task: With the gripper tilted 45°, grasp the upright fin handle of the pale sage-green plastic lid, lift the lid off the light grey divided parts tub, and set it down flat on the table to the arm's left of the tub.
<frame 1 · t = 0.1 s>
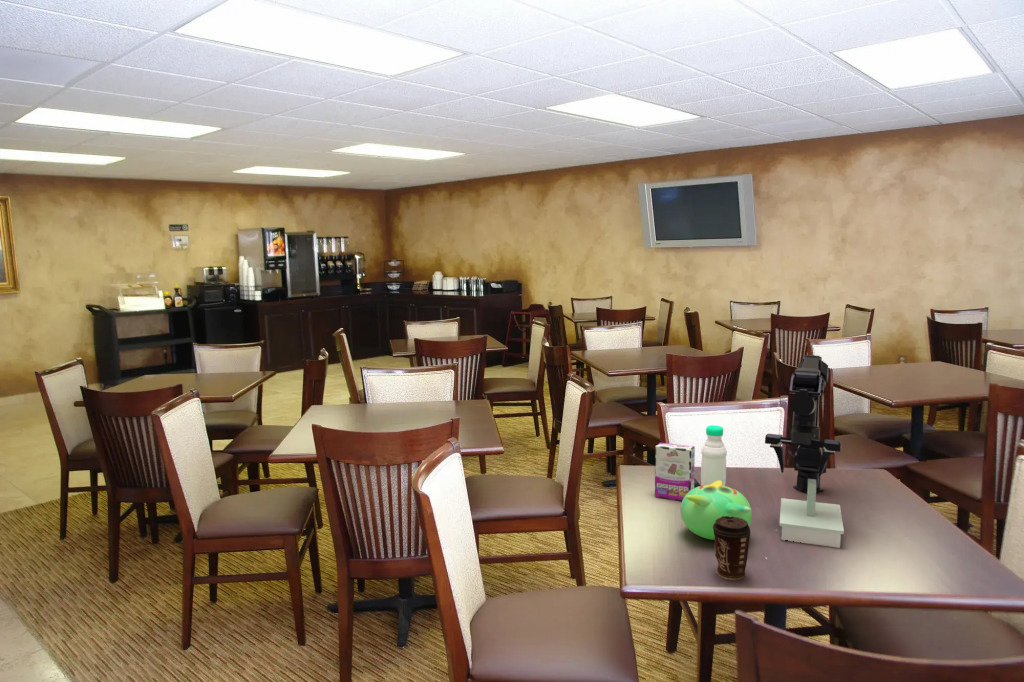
hand: (800, 474, 190), 15 cm above the table, tool pointing down, fingers open, 9 cm apart
candy bar box: (674, 498, 217), on the table
remote control: (683, 479, 235), on the table
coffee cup: (730, 574, 167), on the table
lid: (810, 516, 190), point 4 cm above the table, touching tub
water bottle: (712, 510, 207), on the table
tub: (809, 530, 191), on the table
toy bird: (715, 538, 187), on the table
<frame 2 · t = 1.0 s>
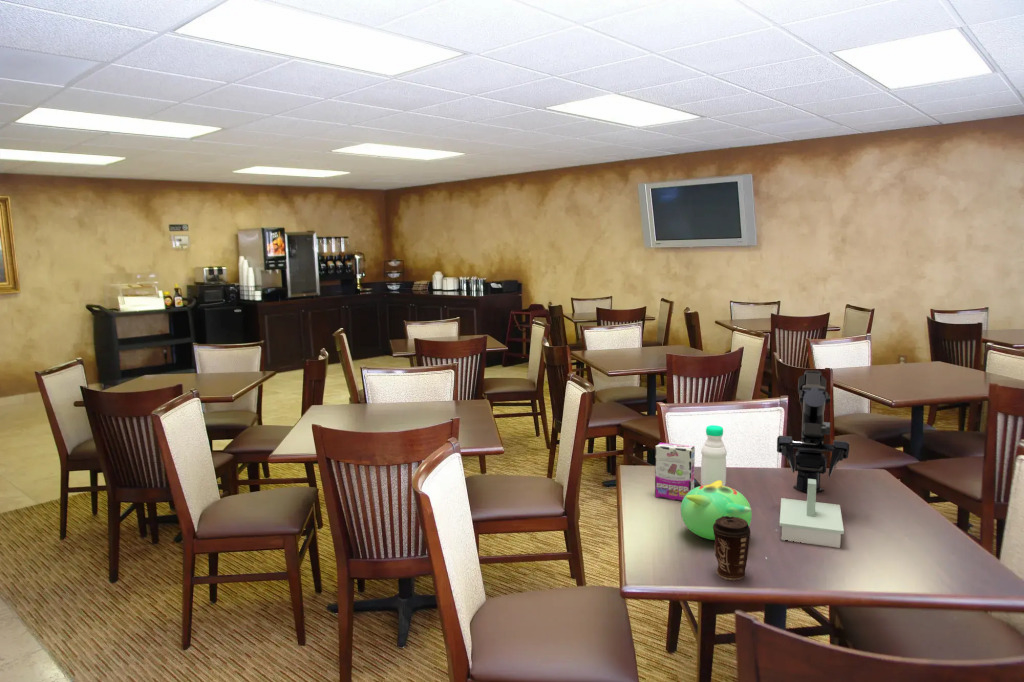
hand: (811, 473, 196), 13 cm above the table, tool tilted 45°, fingers open, 9 cm apart
nothing on the table moved.
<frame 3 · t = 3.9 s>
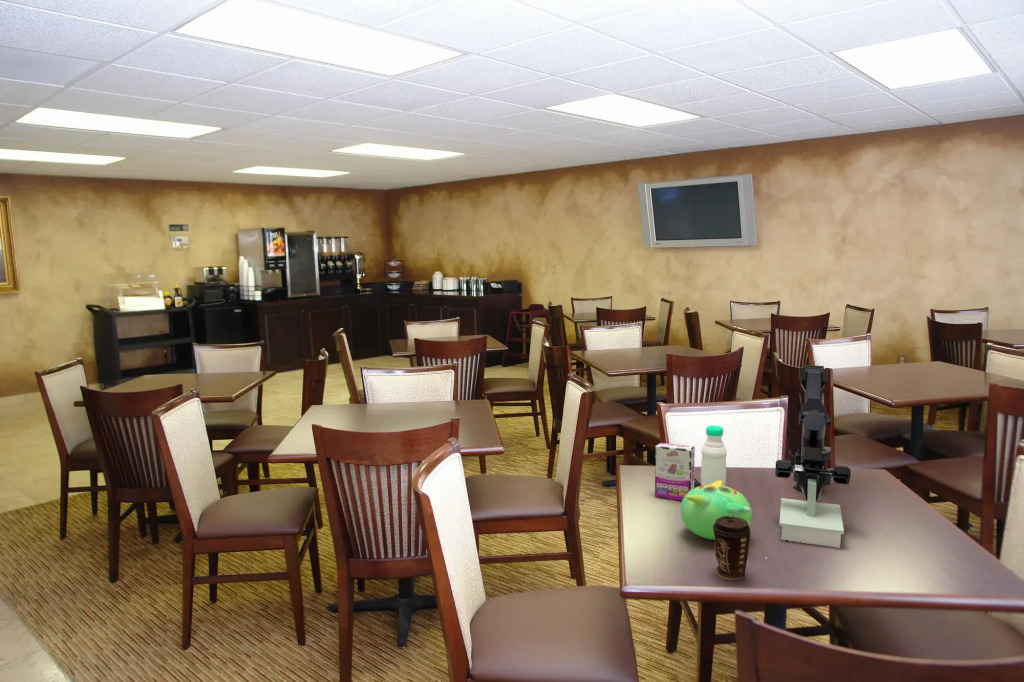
hand: (811, 500, 188), 9 cm above the table, tool tilted 45°, fingers closed on lid
lid: (810, 516, 190), point 4 cm above the table, touching gripper, tub
everything else where it was.
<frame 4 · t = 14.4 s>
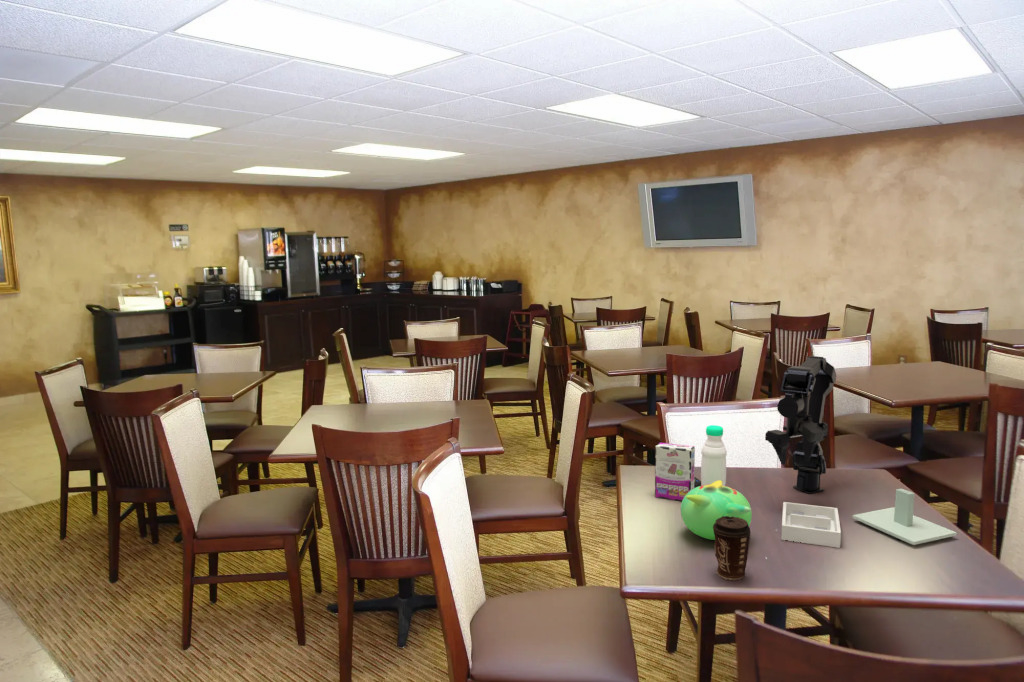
hand: (795, 462, 208), 13 cm above the table, tool pointing down, fingers open, 9 cm apart
lid: (902, 526, 191), point 1 cm above the table
at the end: lid inside the target area (0.2 cm from its centre), point 1.0 cm above the table; lid touching table; lid tilted 0° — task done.
